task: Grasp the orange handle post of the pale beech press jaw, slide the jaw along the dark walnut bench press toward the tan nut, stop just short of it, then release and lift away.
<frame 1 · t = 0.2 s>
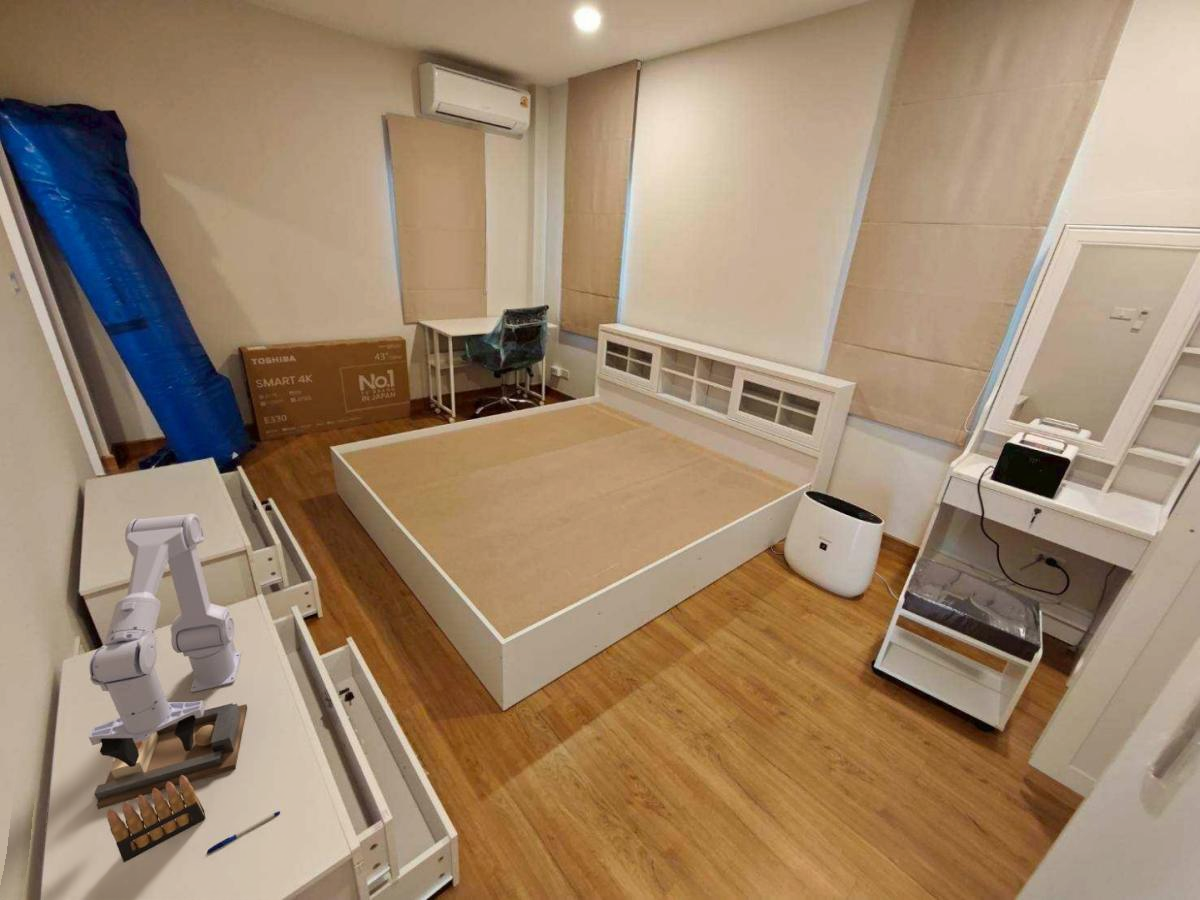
hand: (162, 753, 87), 10 cm above the dresser, fingers open, 7 cm apart
press jaw: (131, 743, 92), point 6 cm above the dresser, slide at 0.0 cm
ballpoint pen: (245, 833, 87), on the dresser
ammunition clip: (166, 836, 85), on the dresser
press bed: (180, 753, 97), on the dresser
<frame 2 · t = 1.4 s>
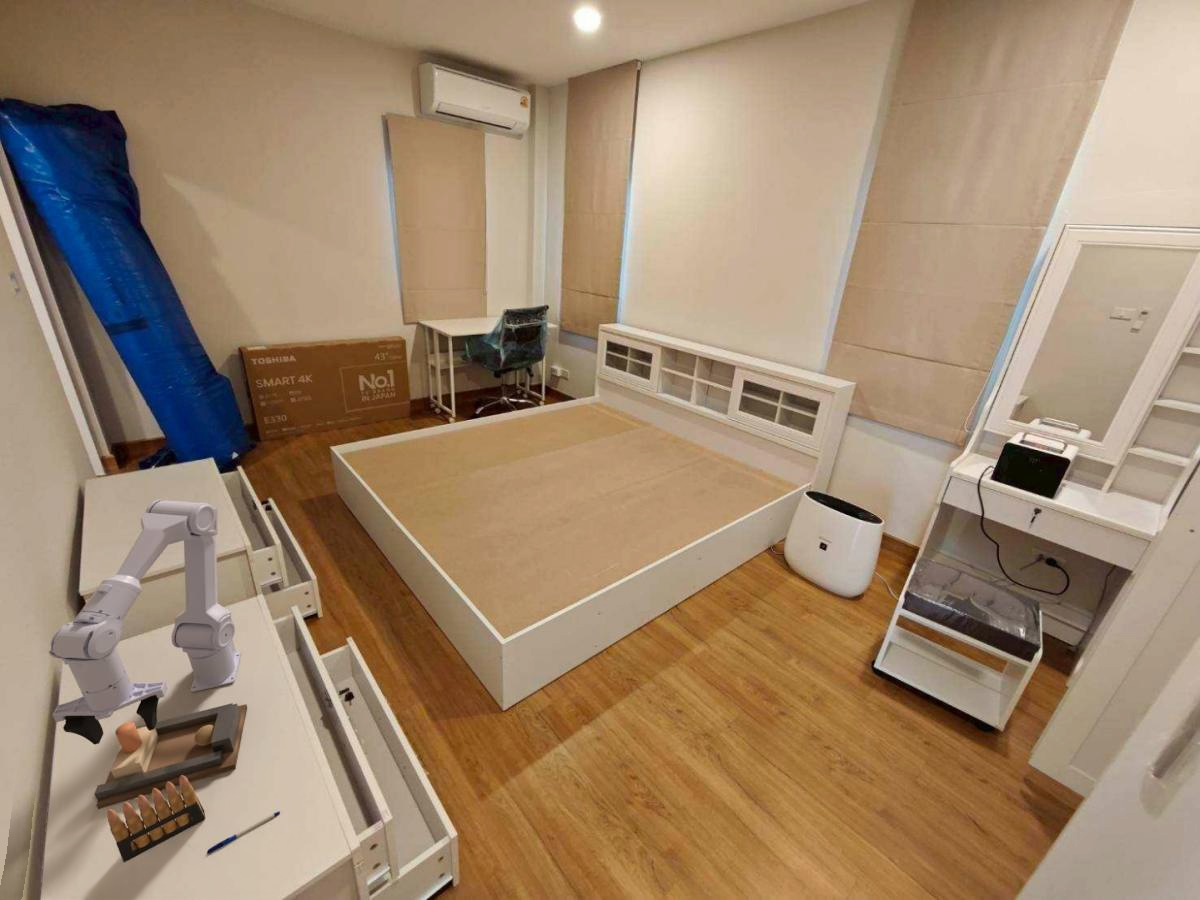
hand: (126, 732, 91), 9 cm above the dresser, fingers open, 7 cm apart
nothing on the dresser moved.
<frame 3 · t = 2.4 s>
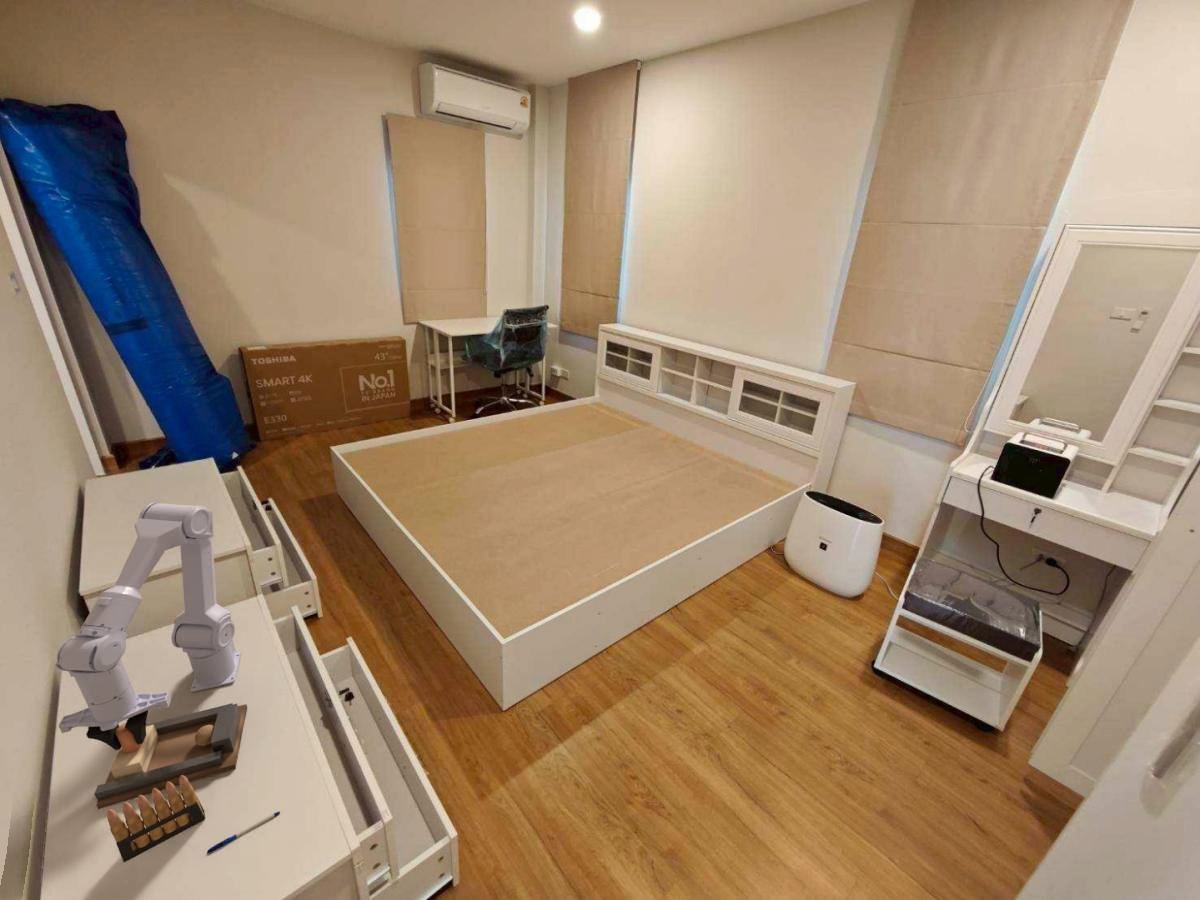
hand: (131, 742, 92), 6 cm above the dresser, fingers closed on press jaw, 3 cm apart
press jaw: (131, 743, 92), point 6 cm above the dresser, slide at 0.0 cm, touching gripper
everything else where it was.
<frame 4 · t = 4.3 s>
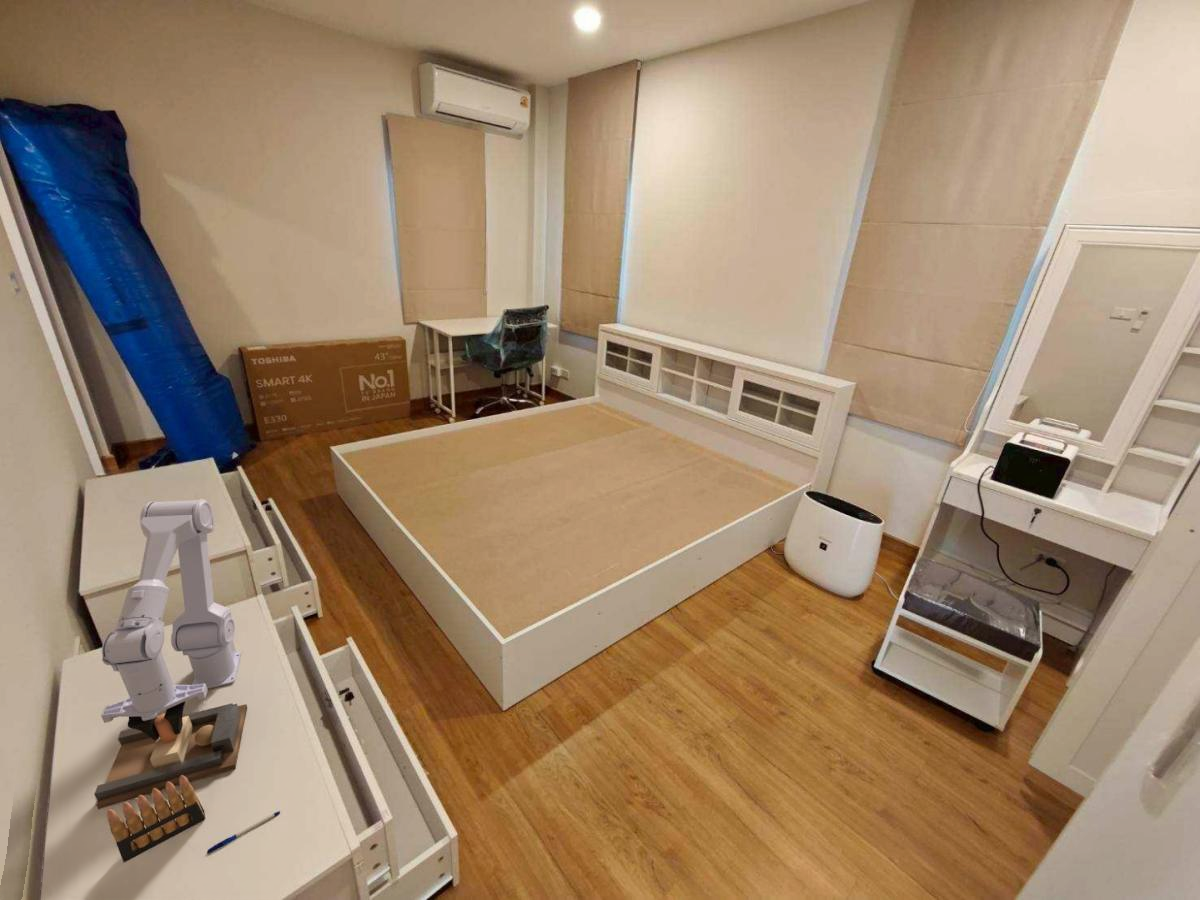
hand: (168, 732, 94), 6 cm above the dresser, fingers closed on press jaw, 3 cm apart
press jaw: (169, 734, 95), point 6 cm above the dresser, slide at 5.5 cm, touching gripper
everything else where it was.
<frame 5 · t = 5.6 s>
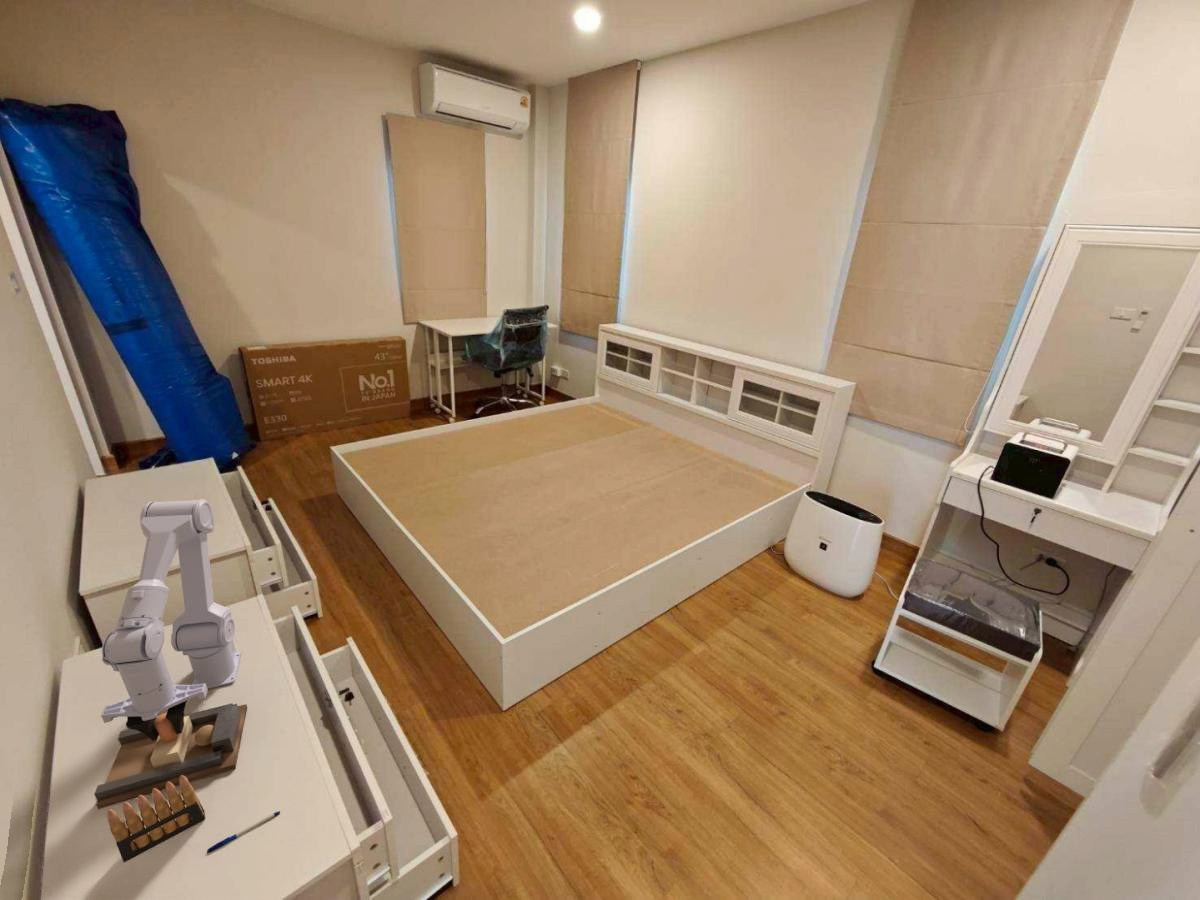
hand: (168, 732, 94), 6 cm above the dresser, fingers open, 3 cm apart
press jaw: (169, 734, 95), point 6 cm above the dresser, slide at 5.5 cm
everything else where it was.
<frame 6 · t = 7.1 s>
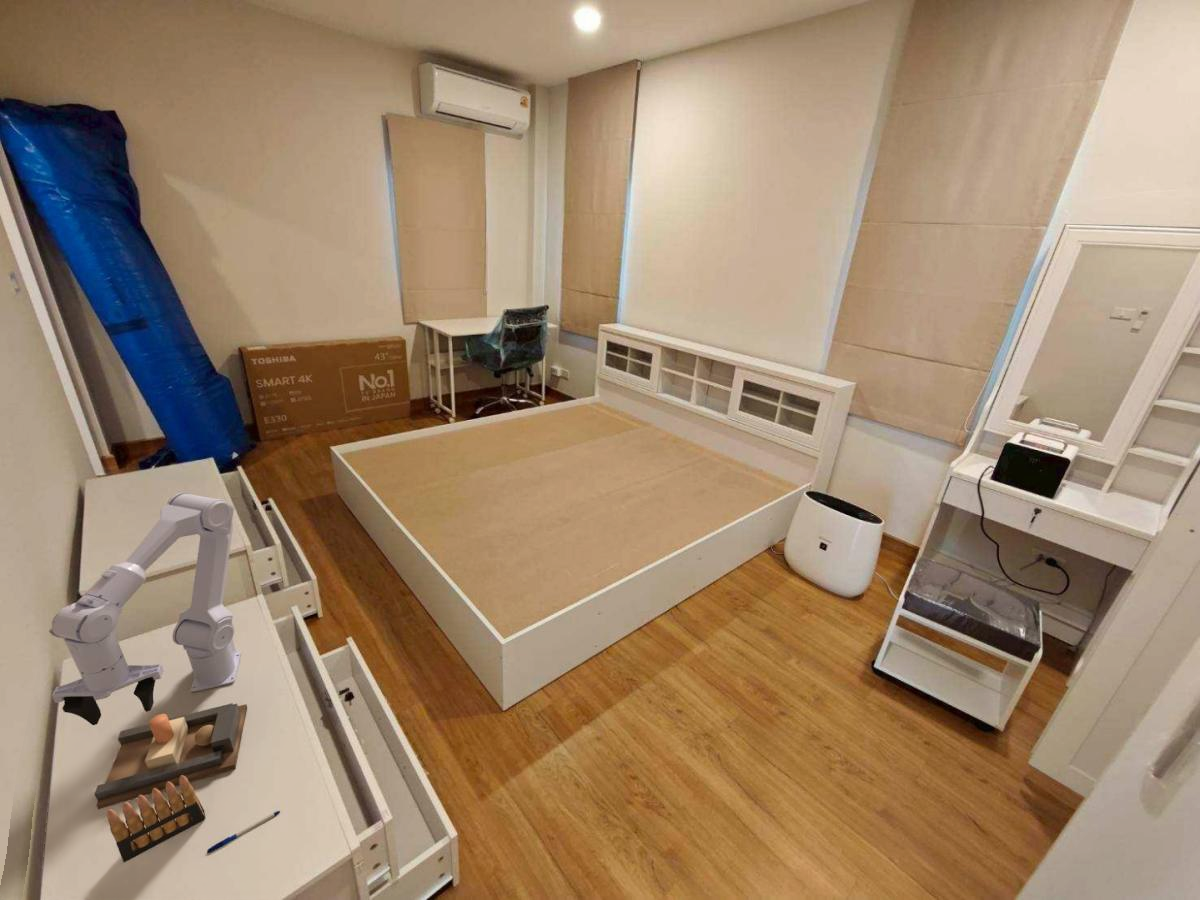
hand: (123, 713, 94), 9 cm above the dresser, fingers open, 7 cm apart
press jaw: (164, 735, 94), point 6 cm above the dresser, slide at 4.8 cm
everything else where it was.
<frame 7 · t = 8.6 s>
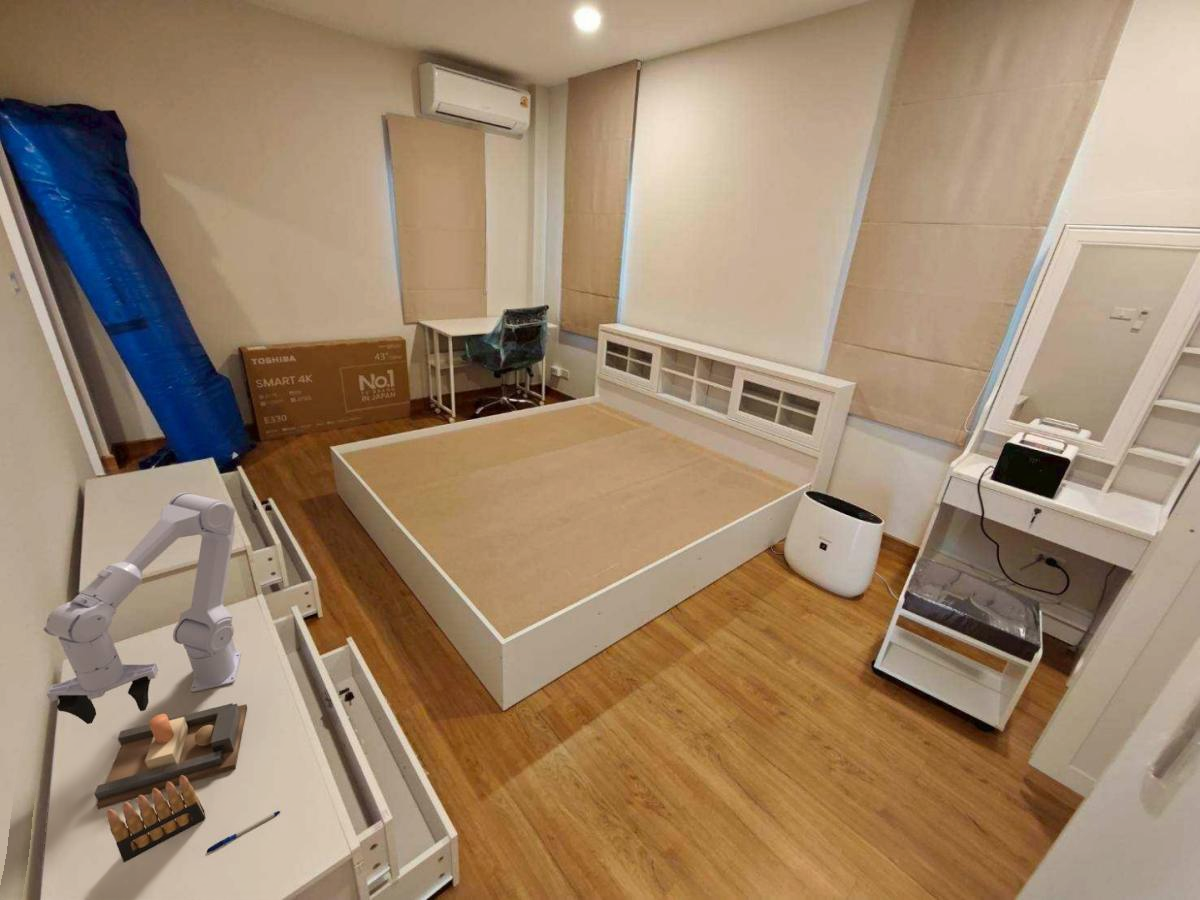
hand: (118, 712, 94), 9 cm above the dresser, fingers open, 7 cm apart
nothing on the dresser moved.
at the end: press jaw slide at 4.8 cm; the gripper is holding nothing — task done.
